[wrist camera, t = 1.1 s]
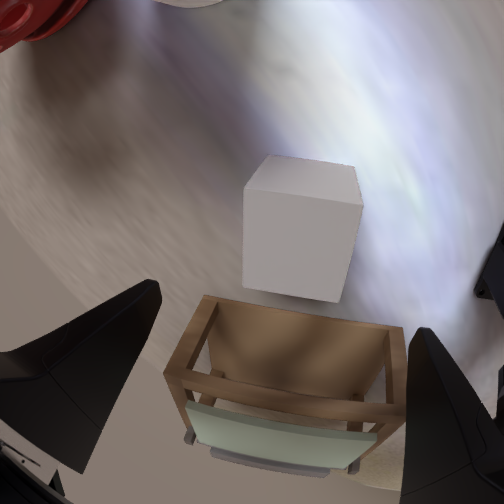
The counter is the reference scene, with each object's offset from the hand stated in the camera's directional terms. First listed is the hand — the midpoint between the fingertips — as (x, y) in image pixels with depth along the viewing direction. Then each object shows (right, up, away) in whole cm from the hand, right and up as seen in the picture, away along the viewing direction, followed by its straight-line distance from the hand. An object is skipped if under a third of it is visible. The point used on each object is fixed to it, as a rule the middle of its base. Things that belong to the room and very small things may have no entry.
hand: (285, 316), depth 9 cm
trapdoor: (+1, -12, +9) cm, 15 cm away
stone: (+2, +5, +7) cm, 9 cm away
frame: (+3, -7, +15) cm, 16 cm away
